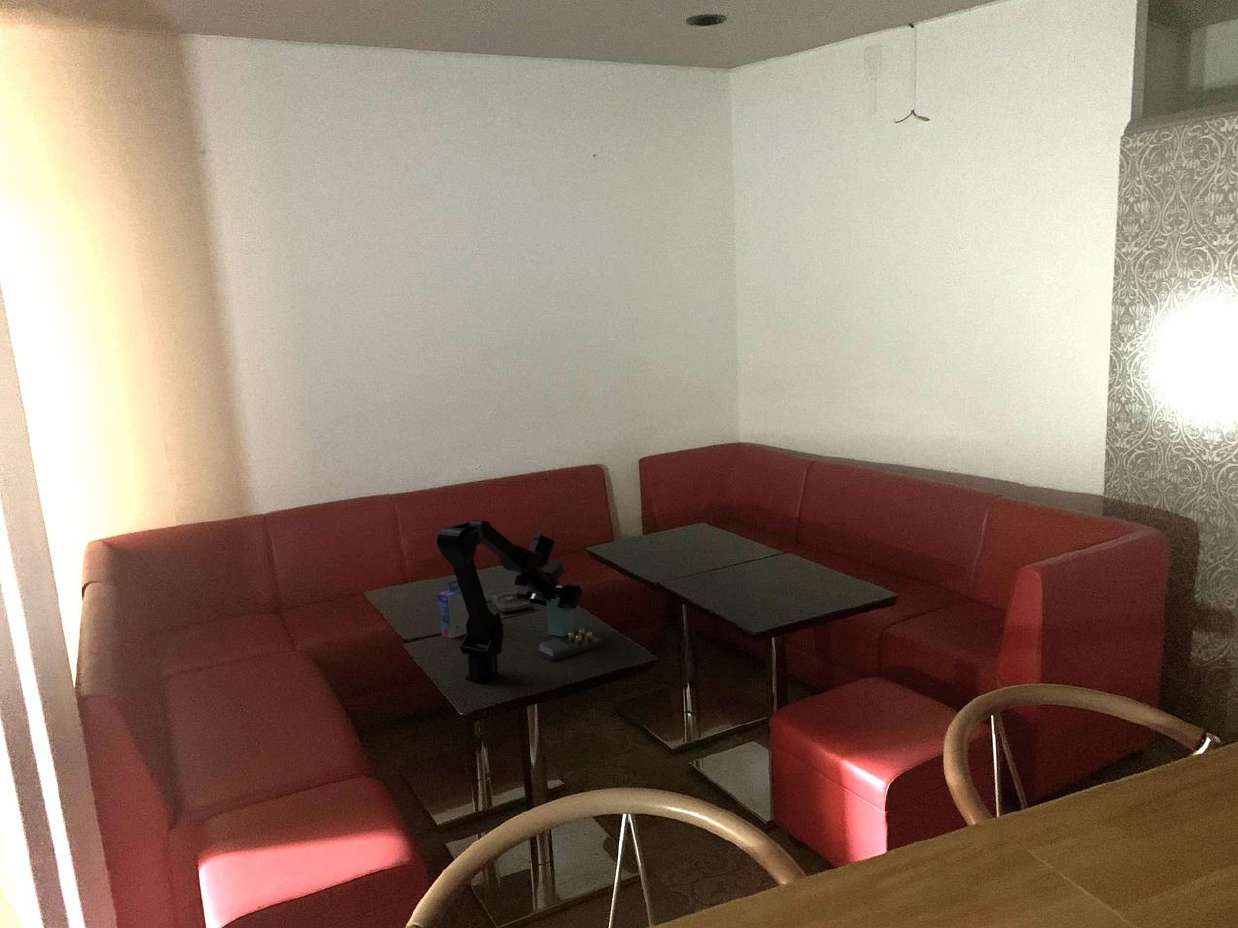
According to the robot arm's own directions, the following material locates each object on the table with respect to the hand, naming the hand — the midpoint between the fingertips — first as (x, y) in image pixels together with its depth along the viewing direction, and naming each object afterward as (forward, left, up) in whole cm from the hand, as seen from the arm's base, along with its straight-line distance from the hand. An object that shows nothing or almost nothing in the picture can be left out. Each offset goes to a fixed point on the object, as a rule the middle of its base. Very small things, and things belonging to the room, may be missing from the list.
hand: (562, 607), depth 258 cm
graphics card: (+8, +31, -8) cm, 33 cm away
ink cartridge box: (-15, +25, -7) cm, 30 cm away
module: (-1, 0, -7) cm, 7 cm away
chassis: (-9, -10, -7) cm, 15 cm away
